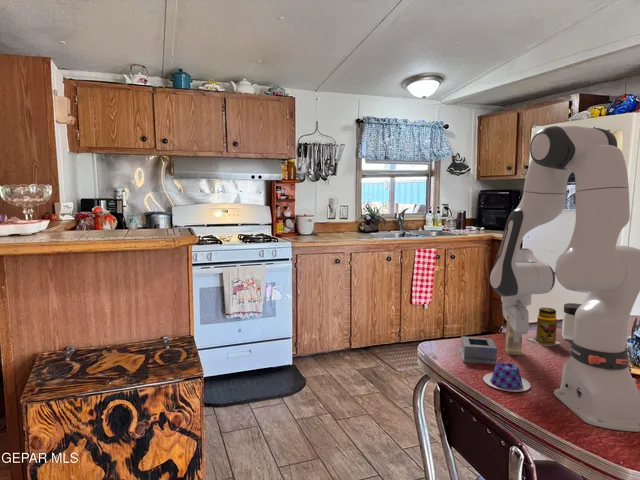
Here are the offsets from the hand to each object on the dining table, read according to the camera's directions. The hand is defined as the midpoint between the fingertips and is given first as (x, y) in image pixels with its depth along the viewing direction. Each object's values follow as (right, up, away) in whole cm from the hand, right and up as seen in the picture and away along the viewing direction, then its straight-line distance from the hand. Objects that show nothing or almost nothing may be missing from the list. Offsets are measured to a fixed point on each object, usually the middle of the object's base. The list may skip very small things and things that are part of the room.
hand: (513, 338), depth 141 cm
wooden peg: (0, -5, +1) cm, 5 cm away
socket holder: (-13, -5, -4) cm, 15 cm away
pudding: (-12, -8, -22) cm, 26 cm away
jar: (+29, -3, +15) cm, 32 cm away
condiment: (+16, -4, +11) cm, 20 cm away
